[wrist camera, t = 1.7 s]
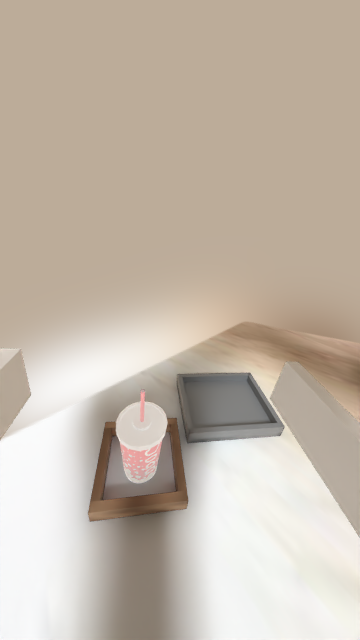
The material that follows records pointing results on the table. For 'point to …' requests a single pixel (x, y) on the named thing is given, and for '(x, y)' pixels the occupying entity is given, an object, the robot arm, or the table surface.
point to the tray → (225, 408)
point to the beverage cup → (141, 438)
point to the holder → (138, 503)
